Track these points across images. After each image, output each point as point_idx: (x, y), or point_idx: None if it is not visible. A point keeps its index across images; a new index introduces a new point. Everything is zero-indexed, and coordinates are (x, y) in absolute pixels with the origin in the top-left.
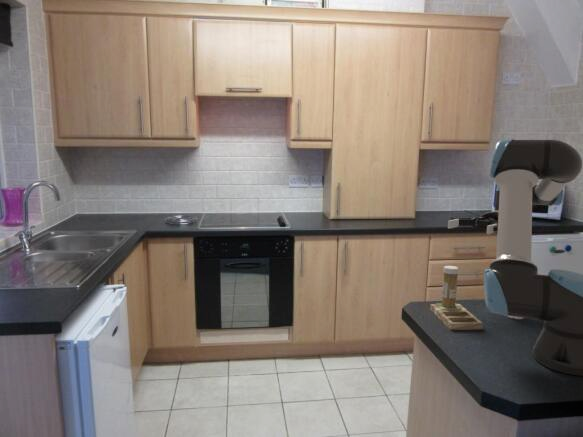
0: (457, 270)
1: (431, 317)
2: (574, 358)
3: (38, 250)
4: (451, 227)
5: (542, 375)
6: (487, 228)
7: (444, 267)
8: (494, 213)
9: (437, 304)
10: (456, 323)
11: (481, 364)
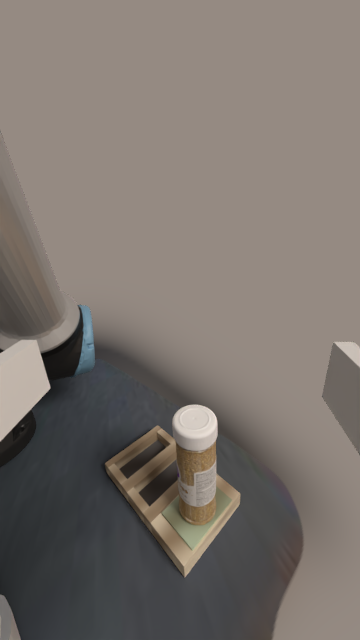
0: (172, 421)
1: None
2: None
3: None
4: (337, 413)
5: None
6: (37, 356)
7: (209, 409)
8: None
9: (223, 495)
10: (149, 431)
11: (104, 383)
